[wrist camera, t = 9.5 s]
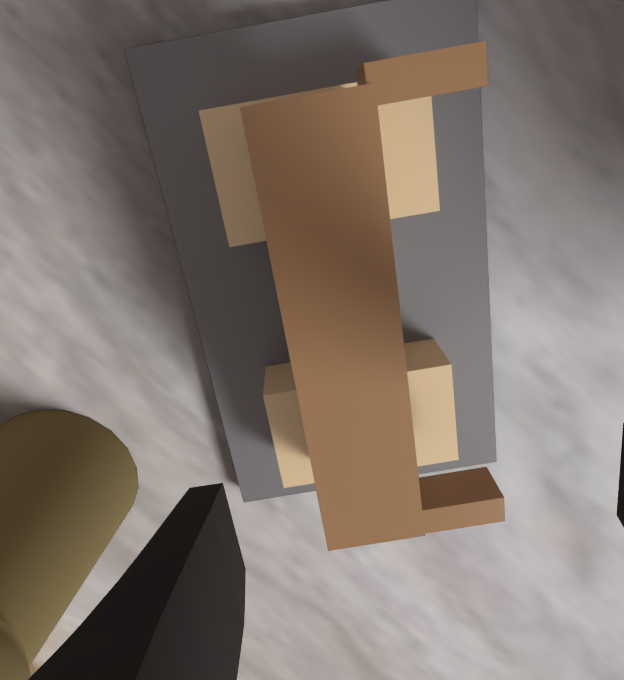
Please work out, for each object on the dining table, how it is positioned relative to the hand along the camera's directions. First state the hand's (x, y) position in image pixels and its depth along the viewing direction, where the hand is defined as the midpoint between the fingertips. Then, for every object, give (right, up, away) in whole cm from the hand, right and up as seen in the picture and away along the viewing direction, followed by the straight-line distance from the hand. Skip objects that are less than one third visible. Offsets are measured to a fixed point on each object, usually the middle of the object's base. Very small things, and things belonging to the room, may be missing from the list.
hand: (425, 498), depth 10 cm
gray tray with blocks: (-1, +5, +9) cm, 10 cm away
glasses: (0, +4, +6) cm, 7 cm away
